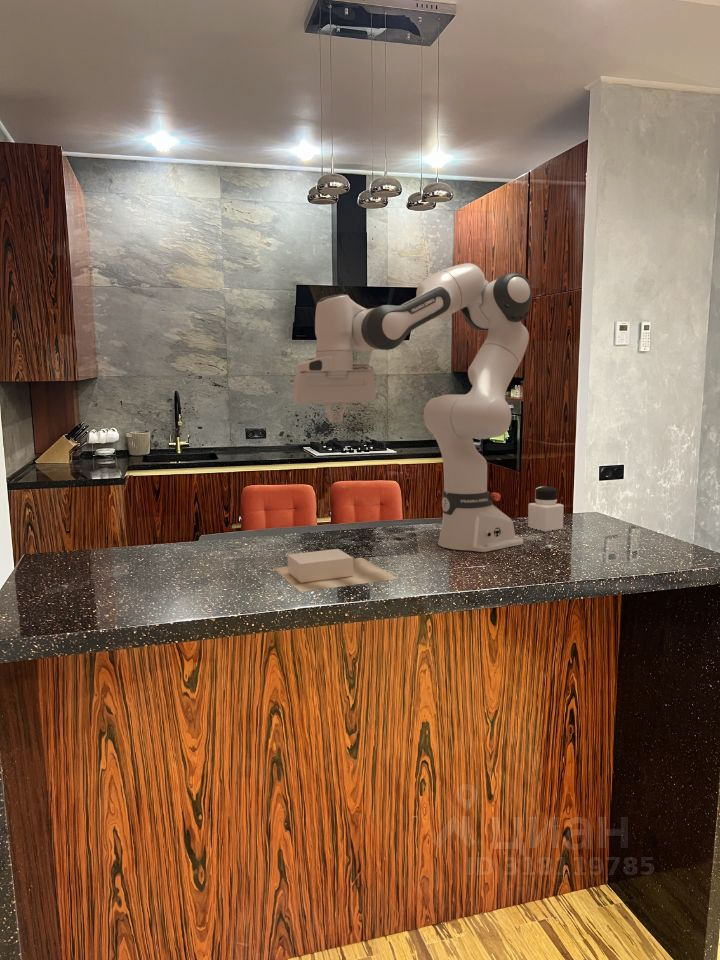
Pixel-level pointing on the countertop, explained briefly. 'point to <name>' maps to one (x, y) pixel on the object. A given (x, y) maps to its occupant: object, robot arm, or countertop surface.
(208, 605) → the countertop surface
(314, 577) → the block
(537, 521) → the medicine bottle
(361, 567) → the cloth
